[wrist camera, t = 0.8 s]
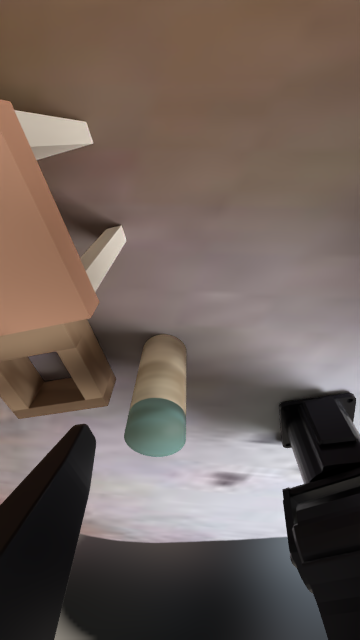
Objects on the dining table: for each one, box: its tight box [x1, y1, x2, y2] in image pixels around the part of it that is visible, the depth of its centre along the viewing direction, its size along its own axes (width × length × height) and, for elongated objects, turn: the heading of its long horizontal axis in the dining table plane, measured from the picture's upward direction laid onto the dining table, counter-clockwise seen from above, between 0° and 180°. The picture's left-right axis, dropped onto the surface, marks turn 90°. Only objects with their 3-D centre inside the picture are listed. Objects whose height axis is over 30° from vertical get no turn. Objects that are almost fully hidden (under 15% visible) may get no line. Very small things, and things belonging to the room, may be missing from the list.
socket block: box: [0, 319, 116, 419], centre depth 20 cm, size 16×8×3 cm, turn 13°
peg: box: [124, 334, 186, 457], centre depth 20 cm, size 4×4×8 cm
